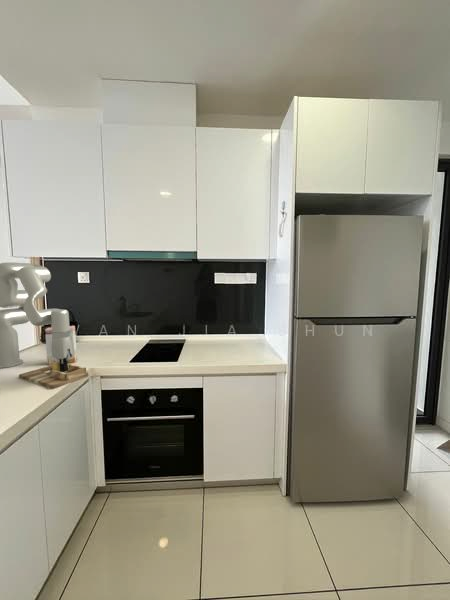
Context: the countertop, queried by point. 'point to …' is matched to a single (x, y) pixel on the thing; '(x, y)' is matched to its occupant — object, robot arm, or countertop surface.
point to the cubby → (67, 376)
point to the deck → (47, 377)
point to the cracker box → (49, 345)
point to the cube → (56, 366)
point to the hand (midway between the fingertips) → (64, 371)
